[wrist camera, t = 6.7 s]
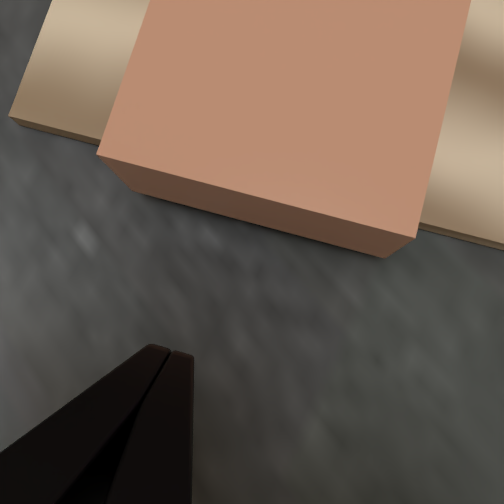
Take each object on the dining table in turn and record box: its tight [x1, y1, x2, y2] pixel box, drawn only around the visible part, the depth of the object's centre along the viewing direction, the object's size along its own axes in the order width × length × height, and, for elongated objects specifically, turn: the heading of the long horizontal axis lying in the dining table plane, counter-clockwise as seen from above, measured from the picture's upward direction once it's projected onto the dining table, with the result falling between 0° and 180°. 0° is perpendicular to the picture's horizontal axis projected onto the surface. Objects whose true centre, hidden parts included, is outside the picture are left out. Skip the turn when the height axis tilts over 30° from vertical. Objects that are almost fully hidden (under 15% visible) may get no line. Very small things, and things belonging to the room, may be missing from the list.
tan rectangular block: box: [96, 0, 471, 258], centre depth 16 cm, size 4×9×10 cm
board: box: [8, 0, 504, 250], centre depth 18 cm, size 14×20×1 cm
